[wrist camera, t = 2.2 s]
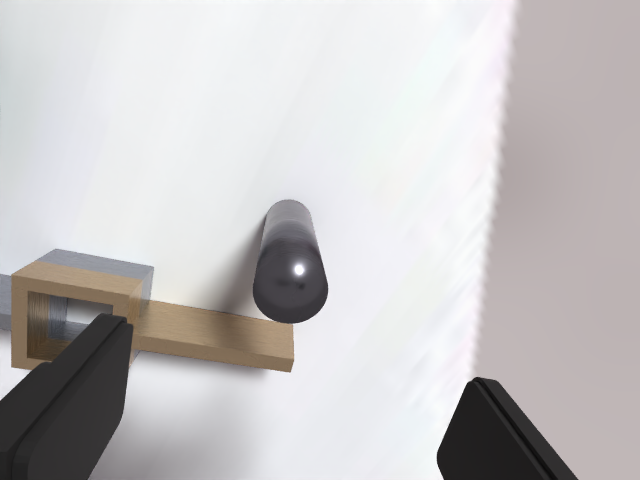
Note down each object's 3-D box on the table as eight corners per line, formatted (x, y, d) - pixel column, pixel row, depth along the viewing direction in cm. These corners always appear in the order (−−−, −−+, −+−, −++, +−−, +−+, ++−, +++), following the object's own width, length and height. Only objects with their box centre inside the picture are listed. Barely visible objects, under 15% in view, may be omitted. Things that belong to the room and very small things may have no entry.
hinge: (-117, 303, 23) (-195, 339, 20) (-127, 214, 22) (-215, 235, 18) (282, 364, 27) (282, 403, 24) (300, 294, 26) (303, 325, 22)
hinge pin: (270, 194, 23) (261, 248, 14) (316, 205, 24) (336, 264, 14) (261, 238, 24) (246, 316, 15) (305, 247, 25) (317, 329, 15)
